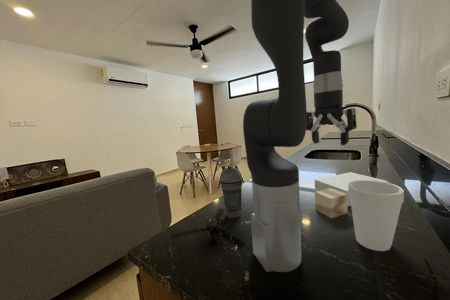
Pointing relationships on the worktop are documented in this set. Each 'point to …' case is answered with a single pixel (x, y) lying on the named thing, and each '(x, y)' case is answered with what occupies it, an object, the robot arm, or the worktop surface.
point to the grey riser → (341, 182)
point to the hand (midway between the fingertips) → (329, 143)
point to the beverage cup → (231, 190)
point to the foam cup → (375, 212)
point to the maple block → (331, 202)
